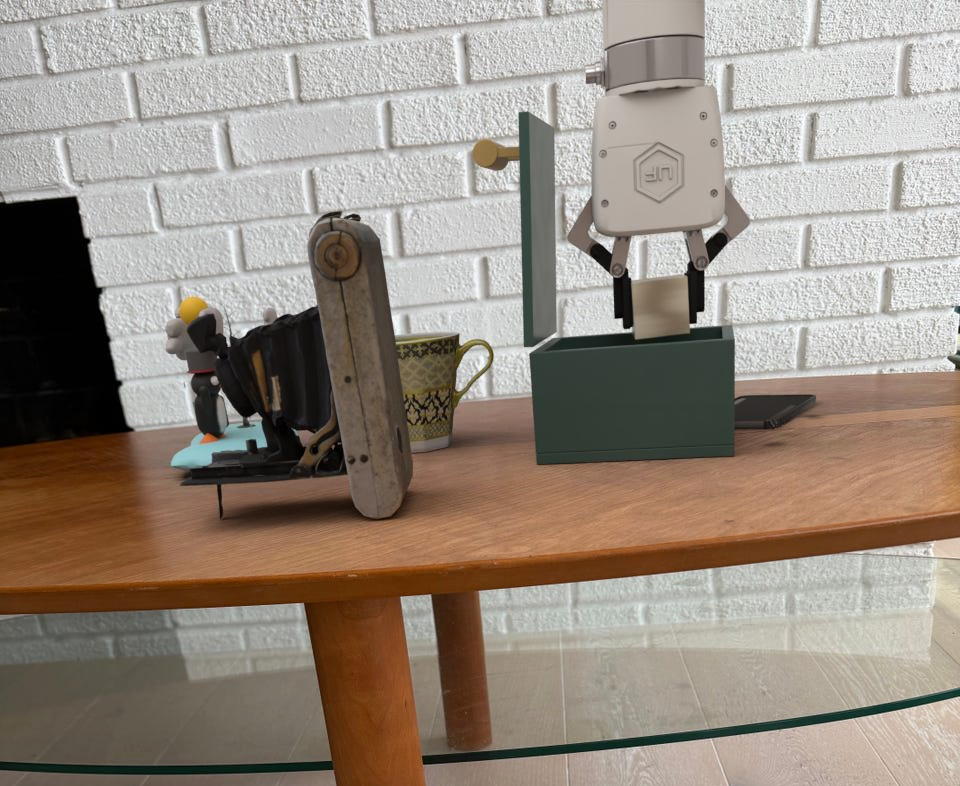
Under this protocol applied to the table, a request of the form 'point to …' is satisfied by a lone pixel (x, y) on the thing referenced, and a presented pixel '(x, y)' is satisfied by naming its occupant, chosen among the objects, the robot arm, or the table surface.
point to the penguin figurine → (208, 390)
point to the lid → (532, 219)
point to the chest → (634, 397)
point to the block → (660, 307)
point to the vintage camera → (320, 380)
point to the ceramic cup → (432, 384)
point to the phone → (769, 410)
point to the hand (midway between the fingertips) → (659, 322)
